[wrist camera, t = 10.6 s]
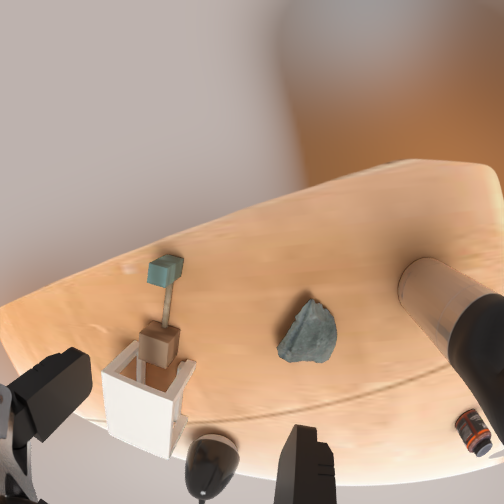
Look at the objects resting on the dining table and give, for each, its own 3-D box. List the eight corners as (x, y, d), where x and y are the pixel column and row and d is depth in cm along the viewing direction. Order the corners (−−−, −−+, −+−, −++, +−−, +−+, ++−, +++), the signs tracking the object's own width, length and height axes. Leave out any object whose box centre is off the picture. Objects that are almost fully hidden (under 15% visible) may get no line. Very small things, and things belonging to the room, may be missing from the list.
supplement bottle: (452, 431, 43) (469, 464, 32) (457, 414, 42) (476, 448, 31) (473, 422, 42) (491, 453, 31) (478, 404, 41) (499, 435, 30)
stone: (350, 300, 42) (290, 288, 40) (361, 314, 39) (298, 303, 37) (323, 354, 46) (267, 347, 44) (330, 370, 42) (271, 364, 40)
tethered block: (190, 260, 43) (175, 270, 37) (177, 354, 47) (163, 372, 41) (160, 252, 44) (142, 260, 38) (151, 344, 47) (135, 361, 41)
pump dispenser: (195, 451, 52) (173, 502, 37) (194, 422, 50) (168, 477, 35) (240, 461, 51) (227, 515, 36) (244, 432, 49) (229, 492, 34)
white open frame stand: (196, 361, 47) (172, 401, 36) (187, 421, 50) (168, 460, 39) (134, 339, 48) (101, 371, 37) (134, 401, 51) (108, 434, 40)
